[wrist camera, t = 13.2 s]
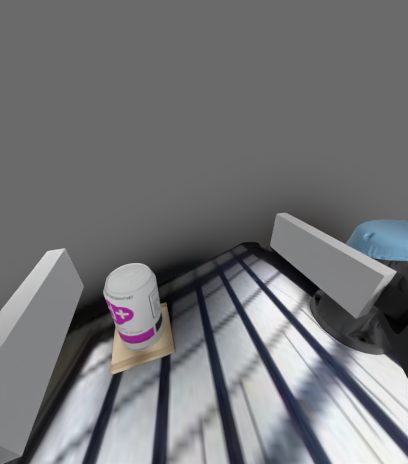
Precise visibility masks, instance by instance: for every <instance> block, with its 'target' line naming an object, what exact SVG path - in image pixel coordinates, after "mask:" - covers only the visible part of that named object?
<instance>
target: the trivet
mask: <svg viewBox="0 0 408 464" xmlns="http://www.w3.org/2000/svg"><path fill="white" fill-rule="evenodd" d="M160 305H161V311H162V317H163V324H164V329H163V332H162V335H161V337H160V338H159V340H158V341H157V342H156V343H155V344H154V345H152V346H151V347H150V348H147V349H145V350H143V351H131V350H128V349H127V348H126V347H125V346H124V345H123V343H122V341H121V338H120V335H119V333H118V330H117V328H116V327H115V336H114V345H113V354H112V362H111V366H110V372H111V374H115V373H118V372H121V371H124V370H127V369H129V368H132V367H135V366H138V365H141V364H144V363H147V362H149V361H152V360H155V359H158V358H161V357H164V356H167V355H169V354H172V353H175V349H174V343H173V338H172V332H171V326H170V321H169V315H168V309H167V303H162V304H160Z"/></svg>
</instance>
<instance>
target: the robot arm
mask: <svg viewBox="0 0 408 464" xmlns="http://www.w3.org/2000/svg"><path fill="white" fill-rule="evenodd" d="M270 246H271V247H272V248H273V249H274V250H275V251H277V252H278V253H279V254H280V255H281V256H283V257H284V258H285V259H286V260H287V261H288V262H290V263H291V264H292V265H293V266H294V267H296V268H297V269H298V270H299V271H300V272H301V273H303V274H304V275H305V276H306V277H307V278H309V279H310V280H311V281H312V282H313V283H314V284H316V285H317V286H318V287H319V289H318V290H317V291H316V292H315V293H314V295H313V298H312V300H311V310H312V313H313V315H314V317H315V319H316V320H317V322H318V323H319V324H320V325H321V326H322V327H323V329H324V330H325V331H327V332H328V333H329V334H330V335H331V336H333V337H334V338H335V339H337V340H338V341H340V342H341V343H343V344H345V345H347V346H349V347H351V348H353V349H355V350H358V351H361V352H364V353H368V354H375V355H380V354H386V353H388V352H390V351H391V350H392V349H393V350H394V352H395V354H396V356H397V358H398V360H399V362H400V364H401V366H402V368H403V370H404V372H405V374H406V376H407V378H408V221H402V220H374V221H368V222H365V223H363V224H361V225H359V226H358V227H357V228H356V229H355V230H354V232H353V234H352V236H351V238H350V239H349V240H348V241H347V242H346V244H344V243H342V242H340V241H338V240H336V239H334V238H332V237H331V236H329V235H327V234H325V233H323V232H321V231H319V230H317V229H315V228H314V227H312V226H310V225H308V224H306V223H304V222H302V221H300V220H298V219H296V218H295V217H293V216H291V215H289V214H287V213H280V214H277V215H276V220H275V224H274V229H273V234H272V239H271V244H270ZM83 287H84V286H83V284H82V282H81V280H80V278H79V276H78V274H77V272H76V270H75V268H74V266H73V263H72V262H71V259H70V257H69V255H68V253H67V252H66V249H65V248H64V249H58V250H52V251H47V253H46V254H45V255H44V256H43V258H42V259H41V260H40V261H39V263H38V264H37V265H36V267H35V268H34V269H33V270H32V272H31V273H30V274H29V276H28V277H27V278H26V279H25V281H24V282H23V283H22V284H21V286H20V287H19V288H18V289H17V291H16V292H15V293H14V295H13V296H12V297H11V298H10V300H9V301H8V302H7V303H6V305H5V306H4V307H3V309H2V310H1V311H0V464H3V463H6V462H8V461H11V460H13V459H15V458H18V457H20V456H22V454H23V451H24V448H25V446H26V443H27V440H28V437H29V435H30V432H31V429H32V426H33V424H34V421H35V418H36V416H37V413H38V410H39V407H40V405H41V402H42V399H43V396H44V394H45V391H46V388H47V385H48V383H49V380H50V377H51V374H52V372H53V369H54V366H55V364H56V361H57V358H58V355H59V353H60V350H61V347H62V344H63V342H64V339H65V336H66V333H67V331H68V328H69V325H70V322H71V320H72V317H73V314H74V312H75V309H76V306H77V303H78V301H79V298H80V295H81V292H82V290H83Z"/></svg>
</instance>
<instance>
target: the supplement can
mask: <svg viewBox="0 0 408 464" xmlns="http://www.w3.org/2000/svg"><path fill="white" fill-rule="evenodd" d="M103 292H104V296H105V299H106V301H107V304H108V307H109V309H110V312H111V315H112V317H113V320H114V322H115V325H116V328H117V330H118V333H119V335H120V338H121V341H122V343H123V345H124V346H125V347H126V348H127V349H128V350H131V351H143V350H145V349H147V348H150V347H151V346H152V345H154V344H155V343H156V342H157V341H158V340H159V338H160V337H161V335H162V332H163V329H164V324H163V317H162V311H161V305H160V300H159V294H158V288H157V283H156V276H155V275H154V273H153V272H152V271H151V270H150V269H149V267H148V266H146V265H144V264H140V263H133V264H127V265H123V266H121V267H119V268H117V269H116V270H114V271H113V272H111V273H110V275H109V276H108V277H107V279H106V283H105V288H104V291H103Z"/></svg>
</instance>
